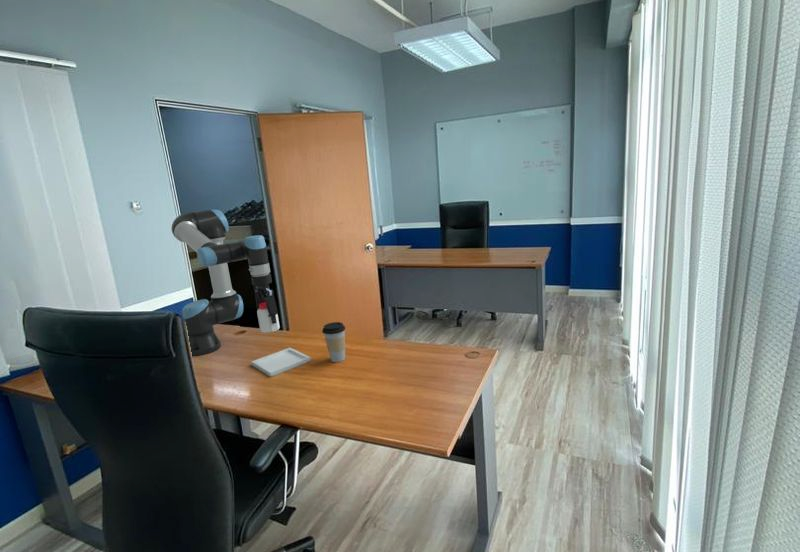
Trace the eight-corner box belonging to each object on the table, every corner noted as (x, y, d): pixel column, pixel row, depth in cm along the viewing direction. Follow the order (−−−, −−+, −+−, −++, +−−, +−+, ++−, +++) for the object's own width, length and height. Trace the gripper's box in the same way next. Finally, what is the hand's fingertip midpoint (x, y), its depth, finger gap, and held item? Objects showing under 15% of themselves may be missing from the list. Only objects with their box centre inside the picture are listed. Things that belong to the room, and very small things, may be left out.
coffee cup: (351, 354, 181) (347, 320, 177) (346, 363, 171) (341, 328, 168) (329, 355, 182) (325, 322, 178) (323, 364, 173) (318, 330, 169)
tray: (252, 365, 179) (251, 361, 179) (290, 351, 191) (289, 347, 190) (271, 377, 166) (270, 372, 165) (311, 361, 177) (310, 357, 177)
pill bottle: (276, 331, 170) (271, 305, 168) (257, 333, 171) (252, 307, 168) (282, 325, 178) (278, 300, 175) (264, 327, 178) (259, 301, 176)
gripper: (241, 274, 175) (251, 326, 179) (262, 279, 159) (272, 336, 164) (259, 270, 179) (268, 321, 184) (280, 274, 164) (290, 330, 169)
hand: (270, 328), depth 174 cm, fingers closed on pill bottle, 8 cm apart
